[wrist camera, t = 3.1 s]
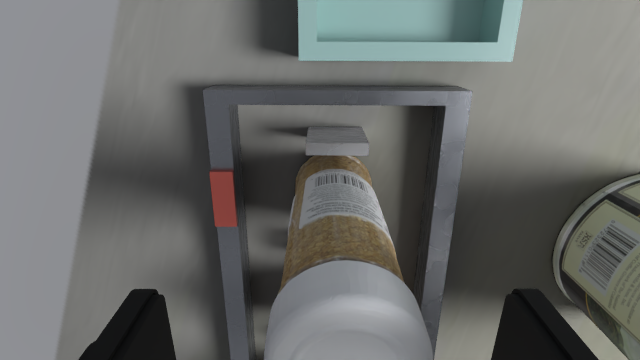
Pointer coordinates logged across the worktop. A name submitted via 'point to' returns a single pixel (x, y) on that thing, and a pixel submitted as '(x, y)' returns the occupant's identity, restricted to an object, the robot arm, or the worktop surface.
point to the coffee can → (605, 262)
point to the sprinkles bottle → (342, 275)
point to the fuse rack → (333, 141)
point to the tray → (408, 30)
